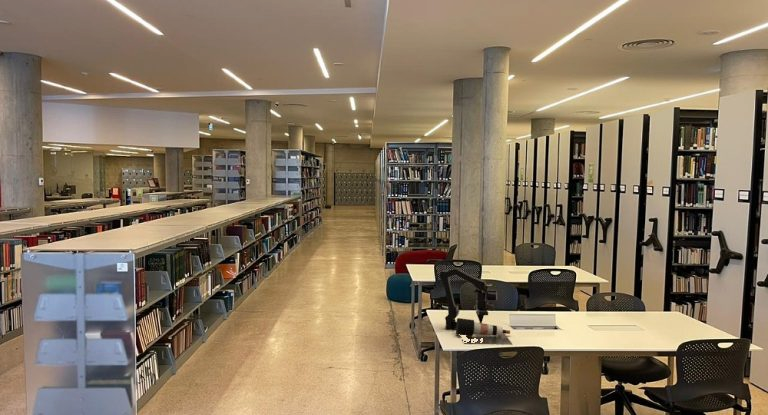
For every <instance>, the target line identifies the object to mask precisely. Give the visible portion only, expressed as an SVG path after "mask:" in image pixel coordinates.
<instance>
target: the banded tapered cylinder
mask: <svg viewBox="0 0 768 415" xmlns="http://www.w3.org/2000/svg"><path fill="white" fill-rule="evenodd" d="M456 318H457V319H456V330H455V334H456V335H459V334H460V335H468V336H473V334H479V335H494V336H502V333H504V334H505V335H510V334H511V330H507V329H503V326H502V325H501V326H500V325H493V324H487V323H483V322H482V323H480V322H477V321H475V320H474V319H471V318H470V319H468V318H463V317H462V318H461V317H459V318H458V317H456ZM460 335H459V336H460Z"/></svg>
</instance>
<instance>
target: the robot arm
mask: <svg viewBox="0 0 768 415" xmlns="http://www.w3.org/2000/svg"><path fill="white" fill-rule="evenodd" d="M455 275H456V276H458V278H459V277H460V278H462V279H463V280H465V281H467V282H468V283H470V284H472V285H473V286H474V287H475V290H474V291H473V293H476V300H475V302H476V304H474V306H473V309H474V311H475V314H476V316H477V318H478V323H483V319H484V316H489V312H488V311H491V312H493V311H494V310H495V306H494V304H492V302H490V301H494V302H495V301H498V290H497V289H490V288H489V287H488V285H487V281H486V280H484V279H483V278H479V277H476V276H475V277H474V276H473V275H470V274H469V273H467V272H465V271H463V270H461V269H460V268H458V267H456V268H452V269H449V270H447V269H444V270H442V271H441V272H439V275H438V276H439V278H440V281H441V282H442V285H443V287H444V292H445V296H446V301H447V305H448V307H447V312H448V314H446V316H445V317H444V320H445V327H444V328H445V330H446V331H447V330H449V331H451V330H452V331H456V321H457V319H456V318H458V316H459V314H460V309H459V305H456V302H455V300H454V295H453V291H452V286H451V277H453V276H455ZM486 299H487V300H486ZM487 301H488V302H487Z"/></svg>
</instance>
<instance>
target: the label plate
mask: <svg viewBox="0 0 768 415" xmlns="http://www.w3.org/2000/svg"><path fill="white" fill-rule="evenodd" d="M466 337H467V338H468V339H470V341H469V342H467V343H464V344H463V345H510V346H511V345H513V343H512V341H511V340H510V338H509V337H508V336H507V334H505V333H502V336H494V335H479V334H473V336H468V335H466ZM474 338H476V339H478V341H477V342H475V343H471V339H474ZM481 338H483V342H482V343H480V342H481V341H480V339H481ZM464 342H466V341H464ZM473 342H474V341H473ZM468 343H469V344H468Z"/></svg>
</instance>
